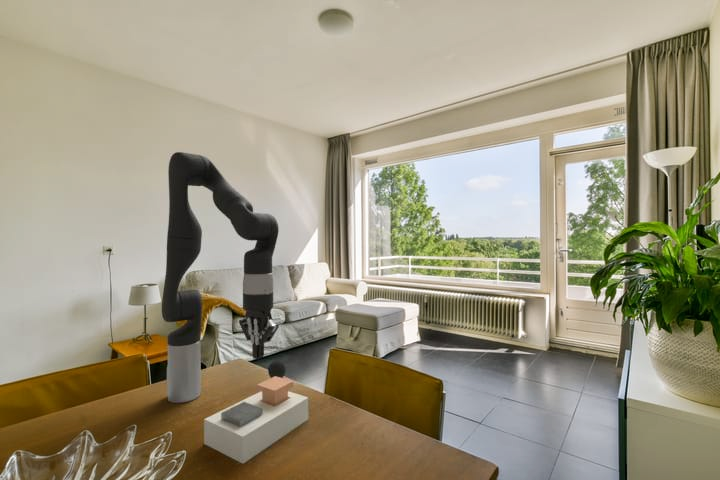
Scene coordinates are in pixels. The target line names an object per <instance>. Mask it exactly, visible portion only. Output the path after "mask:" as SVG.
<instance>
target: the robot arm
mask: <svg viewBox="0 0 720 480" xmlns="http://www.w3.org/2000/svg"><path fill="white" fill-rule="evenodd" d="M190 186H192V187H204V188H206V189H208V190H209V191H210V192H212V201H213V204H214V205H215V207H216V208H217V209H218V210H219V212H221V213H222V215H224V216H225V217H226V218H227V219H229V221H230V224H231V225H232V227H233V229H234V231H235V233H236V235H238V236H239V237H240V238H241V239H244V240H246V241H256V243H255V246H254V247H253V248H252V249H250V250H247V251H246V252H245V253H244V256H243V277H242V278H243V280H242V310H243V311H245V314H244V316H245V317H244V318H242V319H239V320H238V323H239V326H240V328H241V330H242V333H243V334H244V335H243V336H244V337H245V340H246V341H250V343H251V344H252V345H251V346H252V347H251V349H252V351H251V352H252V353H251V354H252V358H253V359H254V360H261V359H262V358H264V356H265V343H269V342H270V341H271V340H272V339H273V338H274V335H275V334H276V332H277V331H278V329H279V327H280V326H279V324H278V323H274V322H273V315H272V313H271V311H272V309H273V308H274V277H273V256H274V252H275V250H276V249H275V248H276V245H277V241H278V236H279V223H278V221H277V219H276V217H275V216H274V215H272V214H270V213H263V212H262V213H261V212H254V207H253V204H252V202H250V201H249V199H247V198H246V197H245V196H244V195H242V194H241V193H240V192H239V191H237V190H236V188H235V187H233V186H232V185H231V184H230V183H229V182H228V181H227V179H226V178H225V177H224V175H223V174H222V173H221V171H220V170H219V169H218V167H217V166H216V165H215V164H214V163H213V161H211V160H210V159H209V158H208V157H206V156H204V155H201V154H194V153H188V152H183V151H176V152H174V153H172V155H171V157H170V160H169V163H168V197H169V198H168V199H169V201H168V202H169V208H168V223H167V224H168V225H167V235H166V237H167V238H166V240H167V241H166V263H165V265H166V267H165V277H164V285H163V291H162V299H161V316H162V318H163V321H165V322H166V323H175V322H182V321H185V323H184V324H183V325H182V326H180V327H179V328H177V329H175V330H173V331H171V332H170V333H169V334H168V336H167V366H166V397H167V401H168V402H170V403H173V404H182V403H188V402H190V401H193V400H195V399H197V398H199V397H200V395H201V388H202V387H201V385H202V384H201V380H202V379H201V378H202V377H201V376H202V375H201V366H202V365H201V364H202V363H201V361H202V359H201V355H202V354H201V349H202V348H201V333H202V318H203V317H202V315H203V298H202V295H201V292H200V291H199V290H198V289H189V290H188V289H187V290H179V287H180V284H181V281H182V279H183V278H184V275H185V274H186V273H187V271H189V269H190V268H191V266H193V264H194V262H196V260H197V258H198V257H199V255H200V253H201V250H202V249H201V248H202V238H203V237H202V236H203V233H202V232H203V231H202V230H203V229H202V227H201V224H200V223H199V220H198V218H197V216H196V215H195V213H194V211H193V210H192V208H191V205H190V201H189V194H188V193H189V187H190Z"/></svg>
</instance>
